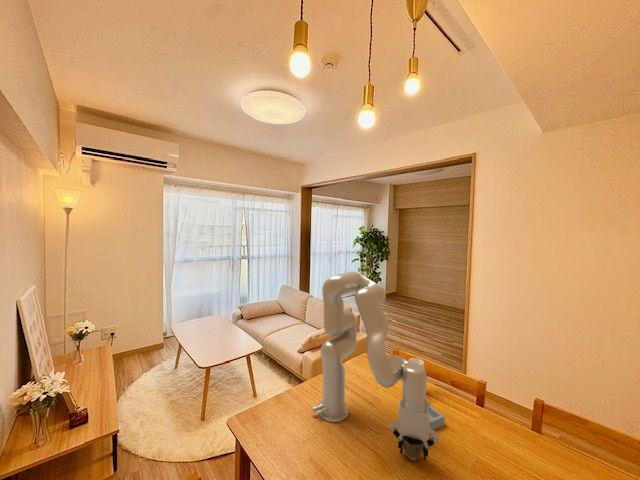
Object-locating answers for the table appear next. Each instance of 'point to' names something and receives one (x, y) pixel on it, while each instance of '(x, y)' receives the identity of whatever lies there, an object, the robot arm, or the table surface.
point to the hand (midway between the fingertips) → (412, 453)
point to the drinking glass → (417, 361)
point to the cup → (413, 448)
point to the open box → (435, 418)
